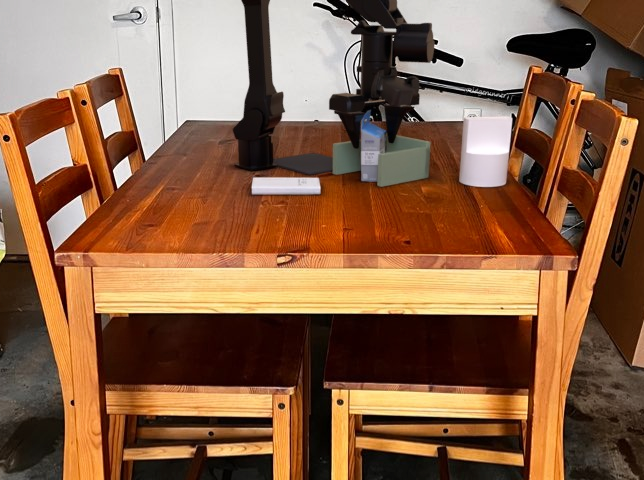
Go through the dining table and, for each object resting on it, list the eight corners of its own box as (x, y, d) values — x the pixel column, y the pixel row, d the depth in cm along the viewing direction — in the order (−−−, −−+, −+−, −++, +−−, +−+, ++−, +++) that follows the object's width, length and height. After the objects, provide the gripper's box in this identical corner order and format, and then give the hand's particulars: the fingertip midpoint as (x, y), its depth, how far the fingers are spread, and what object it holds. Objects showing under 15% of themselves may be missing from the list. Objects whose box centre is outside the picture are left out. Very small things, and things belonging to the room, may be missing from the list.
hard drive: (253, 185, 155) (318, 184, 155) (251, 195, 147) (320, 195, 148) (253, 176, 154) (318, 176, 154) (251, 186, 147) (320, 186, 147)
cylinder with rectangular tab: (496, 175, 162) (502, 113, 157) (513, 186, 154) (519, 121, 149) (453, 177, 161) (457, 114, 156) (467, 187, 153) (472, 122, 148)
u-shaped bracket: (381, 186, 153) (382, 149, 151) (332, 173, 164) (332, 138, 161) (428, 177, 161) (430, 141, 158) (379, 165, 171) (380, 131, 168)
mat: (309, 175, 162) (309, 173, 162) (262, 162, 174) (262, 160, 174) (361, 166, 170) (361, 164, 170) (314, 154, 182) (314, 152, 182)
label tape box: (379, 182, 157) (382, 116, 152) (359, 181, 158) (360, 115, 153) (386, 172, 165) (389, 110, 160) (366, 171, 165) (368, 109, 160)
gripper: (368, 67, 141) (365, 158, 148) (442, 61, 152) (437, 146, 158) (327, 62, 149) (326, 148, 155) (401, 57, 160) (397, 138, 166)
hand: (373, 145), depth 159 cm, fingers open, 9 cm apart
